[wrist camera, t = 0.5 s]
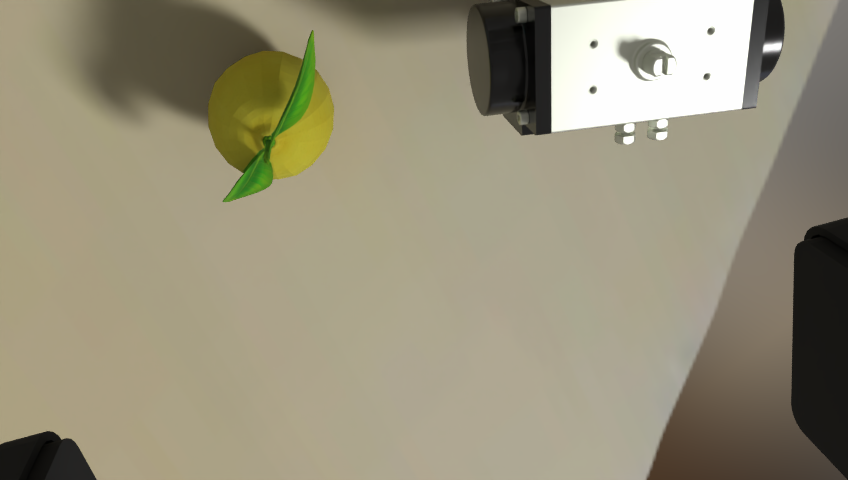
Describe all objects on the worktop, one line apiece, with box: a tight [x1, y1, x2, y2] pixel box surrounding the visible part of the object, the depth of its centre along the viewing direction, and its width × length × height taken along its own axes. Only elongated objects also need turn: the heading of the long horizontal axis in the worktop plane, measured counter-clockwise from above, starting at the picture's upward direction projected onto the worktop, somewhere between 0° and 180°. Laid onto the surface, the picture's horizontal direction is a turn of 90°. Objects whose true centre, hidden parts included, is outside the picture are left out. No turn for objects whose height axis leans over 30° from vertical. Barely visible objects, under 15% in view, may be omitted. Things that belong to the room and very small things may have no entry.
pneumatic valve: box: [467, 0, 785, 144], centre depth 31 cm, size 6×12×12 cm, turn 94°
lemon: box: [208, 30, 334, 202], centre depth 32 cm, size 7×6×10 cm
